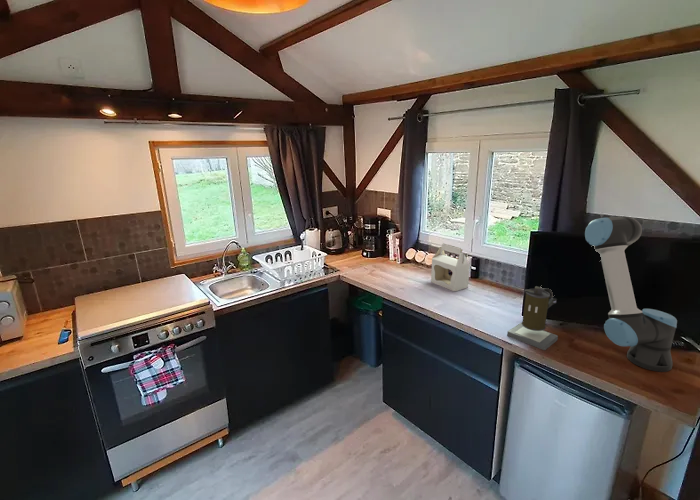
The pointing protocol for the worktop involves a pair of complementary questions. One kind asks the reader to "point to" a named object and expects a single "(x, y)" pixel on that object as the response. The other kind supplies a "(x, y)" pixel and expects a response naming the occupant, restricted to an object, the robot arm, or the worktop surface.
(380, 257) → the worktop surface
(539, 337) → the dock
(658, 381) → the worktop surface
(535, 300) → the canister
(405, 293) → the worktop surface
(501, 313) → the worktop surface
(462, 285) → the gable box
